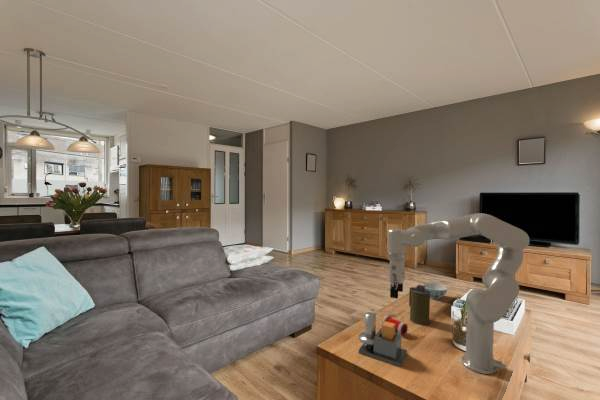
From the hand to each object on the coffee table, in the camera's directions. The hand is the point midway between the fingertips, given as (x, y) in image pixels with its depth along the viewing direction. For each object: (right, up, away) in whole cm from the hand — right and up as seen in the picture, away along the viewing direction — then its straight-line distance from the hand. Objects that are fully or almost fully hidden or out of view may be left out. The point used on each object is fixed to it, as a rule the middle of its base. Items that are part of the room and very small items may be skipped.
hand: (396, 294), depth 128 cm
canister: (+24, -26, +33) cm, 49 cm away
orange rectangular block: (-4, -25, -2) cm, 25 cm away
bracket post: (-8, -26, 0) cm, 27 cm away
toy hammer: (+1, -26, +17) cm, 31 cm away
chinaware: (+50, -26, +70) cm, 90 cm away
